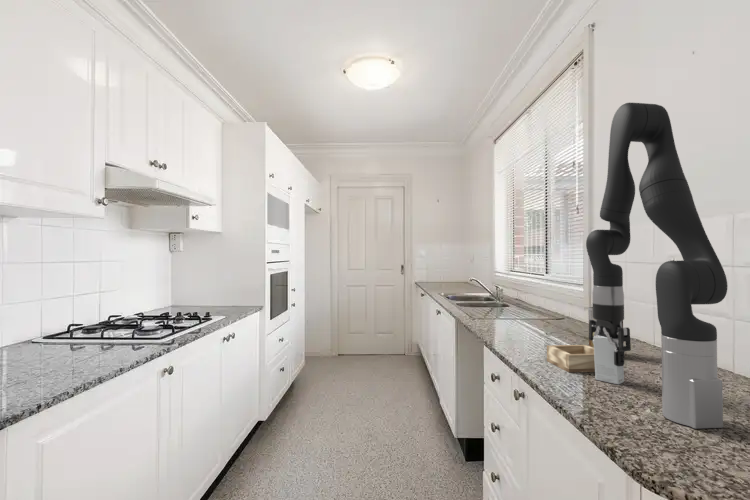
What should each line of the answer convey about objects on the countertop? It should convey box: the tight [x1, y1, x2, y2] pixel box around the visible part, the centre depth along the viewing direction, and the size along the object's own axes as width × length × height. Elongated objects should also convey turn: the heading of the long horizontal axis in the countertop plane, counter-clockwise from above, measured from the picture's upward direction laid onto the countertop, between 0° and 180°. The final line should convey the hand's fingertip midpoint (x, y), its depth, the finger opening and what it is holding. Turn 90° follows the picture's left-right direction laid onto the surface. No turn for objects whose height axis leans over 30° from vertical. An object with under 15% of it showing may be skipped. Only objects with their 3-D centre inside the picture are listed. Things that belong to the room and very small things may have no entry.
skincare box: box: [593, 335, 625, 385], centre depth 110 cm, size 6×4×12 cm
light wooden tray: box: [546, 344, 595, 373], centre depth 125 cm, size 13×13×5 cm
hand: (608, 361), depth 110 cm, fingers open, 8 cm apart
